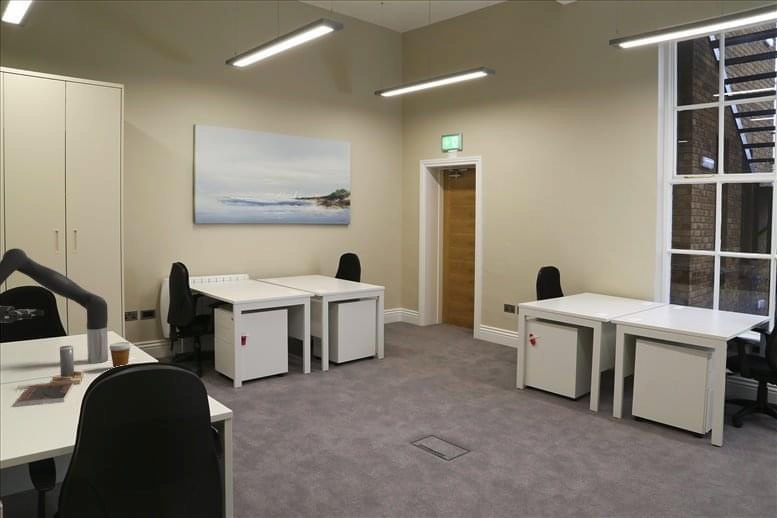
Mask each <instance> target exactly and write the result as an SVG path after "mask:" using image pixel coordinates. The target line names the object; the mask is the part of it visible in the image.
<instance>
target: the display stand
mask: <svg viewBox="0 0 777 518" xmlns="http://www.w3.org/2000/svg"><path fill="white" fill-rule="evenodd" d="M83 372H84V371H83V370H79V371H78V370H77V371H76V370H74V378H72V377H61V374H60V375H55V376H53V377H51V378H52V381H51V383H50V384H59V383H71V382H73V386H74V385H75V386H76V385H81V383H82V381H83V380H84V373H83ZM82 379H83V380H82Z"/></svg>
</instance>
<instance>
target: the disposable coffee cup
mask: <svg viewBox="0 0 777 518" xmlns="http://www.w3.org/2000/svg"><path fill="white" fill-rule="evenodd" d="M131 346H132V345H131V344H130V342H127V341H123V342H121V341H120V342H114V343H110V345H109V346H108V349H109V351H110V355H111V362H112V366H113V367H116V366H120V365H126V364H128V365H129V361H130V360H129V359H130V352H131V351H130V349H131Z"/></svg>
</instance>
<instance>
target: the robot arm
mask: <svg viewBox="0 0 777 518" xmlns="http://www.w3.org/2000/svg"><path fill="white" fill-rule="evenodd" d="M16 271H17V272H19V273H21V274H24V275H25V276H28V277H29V278H31V279H32V280H33V281H34V282H36V283H37V284H39V285H41V286H42V287H43V288H46V289H47V290H48V291H51V292H53V294H56V295H58V296H61V297H62V298H65V299H68V300H71V301H73V302H75V303H76V304H78V305H80V306H81V307H82V308H84V309H85V310H86V335H87V336H86V339H87V340H86V342H87V344H86V345H87V362H88V363H90V364H99V363H100V362H101V363H104V362H107V361H109V346H108V345H109V342H108V338H109V337H108V318H109V317H108V303H107V302H106V300H105V299H104V298H103V297H101V296H100V295H97V294H95V293H92V292H90V291H88V290H86V289H84V288H83V287H81V285H79V284H77V283H76V282H74V281H73V280H71V279H70V278H69V277H67V276H66V275H64V274H62V273H60V272H59V271H56V270H54V269H52V268H50V267H47V266H46V265H45V266H44V265H42V264H40V263H38V262H36V261H35V260H33V259H31V258H30V257H29V256H28V255H27V254H26V252H25V251H24V250H22V249H21V248H11V249H8V250H7V251H5V252H4V253H3V255H2V259H1V261H0V287H1V286H2V285H3V284H4V283H5V281H6V280H7V279H8V278H9V277H11V275H12V274H14V273H15V272H16ZM44 315H45V311H44V310H41V309H39V310H38V309H37V308H31V309H30V308H24V309H16V308H15V307H14V306H12V305H0V323H1V324H11V323H13V322H15V321H20V320H21V321H22V320H31V319H33V317H35V316H44ZM101 363H100V364H101Z"/></svg>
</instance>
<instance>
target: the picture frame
mask: <svg viewBox="0 0 777 518" xmlns="http://www.w3.org/2000/svg"><path fill="white" fill-rule="evenodd" d="M73 388H74V385H73V382H71V383H59V384H51V383H49V384H38V385H37V384H36V385H29V386H28V387H27V389H25V391H24V392H23V393H22V394H21V396H19V398H18V399H17V400H16V401H15V404H16V405H15V406H16V407H24V406H23V405H27V406H36V405H35V404H37V405H44V404H43V403H48V404H55V403H54V402H58V403H65V401H66V400H67V398H68V397H69V395H68V394H70V393H71V391H72V390H73ZM65 399H66V400H65Z"/></svg>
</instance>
